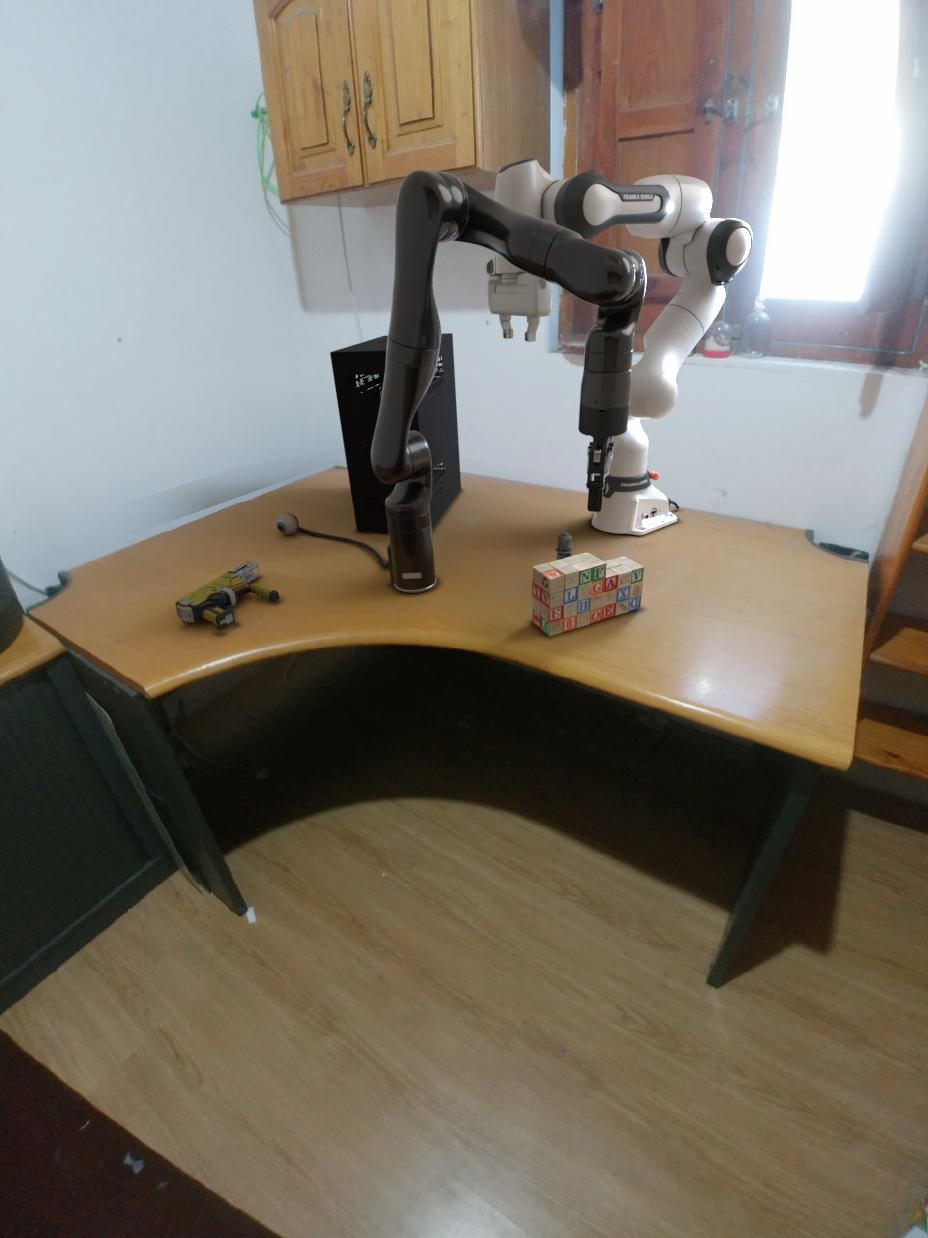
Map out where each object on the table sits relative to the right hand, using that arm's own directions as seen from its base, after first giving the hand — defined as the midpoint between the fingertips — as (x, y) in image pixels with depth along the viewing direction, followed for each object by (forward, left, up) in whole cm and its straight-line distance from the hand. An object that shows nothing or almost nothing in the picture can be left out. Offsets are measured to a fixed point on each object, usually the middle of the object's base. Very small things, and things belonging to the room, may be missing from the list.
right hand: (518, 339), depth 125 cm
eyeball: (+49, -41, -47) cm, 80 cm away
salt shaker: (+1, +20, -47) cm, 51 cm away
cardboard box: (+13, -42, -47) cm, 64 cm away
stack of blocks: (+5, +35, -47) cm, 59 cm away
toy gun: (+66, -6, -47) cm, 81 cm away
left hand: (+8, +41, -22) cm, 47 cm away
